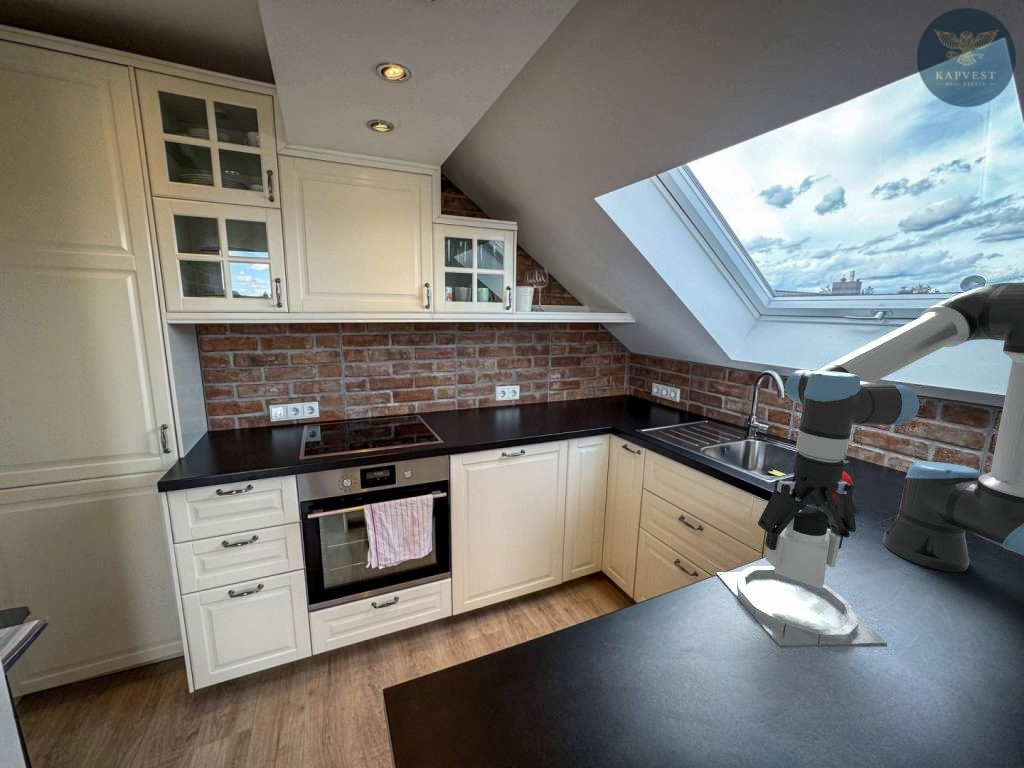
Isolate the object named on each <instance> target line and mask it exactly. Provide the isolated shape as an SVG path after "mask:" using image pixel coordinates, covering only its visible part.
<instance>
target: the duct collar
mask: <svg viewBox="0 0 1024 768" xmlns="http://www.w3.org/2000/svg"><path fill="white" fill-rule="evenodd" d="M727 572H728V571H727ZM727 572H719V571H718V572H716V576H718V575H720V574H722V575H720V576H718V578H719V579H720V580H721V581H722V582H723V584H724V585H725V586H726V587H727V588H728V589H729V591H730V592H731V593H732V594H733V595H734V597H736V599H737V600H738V601H739V602H740V603H741V605H742V606H743V607H744V608H745V609H746V610H747V611H748V613H749V614H750V615H751V616H752V617H753V618H754V620H755V621H757V623H758V624H759V625H760V627H762V629H763V630H764V631H765V632H766V634H767V635H769V637H770V638H771V639H772V641H774V643H775V644H776V645H777V646H778V647H779V648H792V647H793V648H796V647H797V648H798V647H799V648H800V647H803V648H804V647H834V646H835V647H837V646H838V647H839V646H840V647H841V646H872V645H873V646H874V645H875V646H877V645H878V646H879V645H880V646H881V645H888V642H887V641H886V640H885V639H884V638H883V637H881V635H879V634H878V633H877V632H875V631H874V630H873V629H872V628H871V627H870V626H868V625H867V624H866V623H865V622H864V621H863V620H861V619H860V618H859V617H858V616H857V615H856V613H855V610H854V607H853V605H852V604H851V603H850V602H849V601H847V600H846V599H845V598H843V597H842V596H841V595H840V594H838V593H837V592H836V591H835V590H834V589H833V588H832V587H830V586H828V585H826V584H824V585H823V588H818V587H815V586H812V585H809V584H806V583H803V582H800V581H797V580H794V579H791V578H788V577H785V576H782V575H779V574H776V573H775V572H774V566H772V565H770V566H769V565H768V566H767V565H766V566H764V565H763V566H757V565H754V566H749V567H747V568H745V569H744V570H742V571H741V572H740V571H739V572H738V571H737V572H735V571H734V572H731V571H730V572H728V573H727ZM723 573H724V574H723Z"/></svg>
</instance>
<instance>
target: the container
mask: <svg viewBox="0 0 1024 768" xmlns="http://www.w3.org/2000/svg"><path fill="white" fill-rule="evenodd" d="M828 519H829V518H828V516H827V515H826V514H825V513H824V512H823V510H821V509H819V508H817V507H814V506H811V505H807V506H806V507H805V508H804V509H800V511H799V512H798V513H797V514H796V516H795V517H794V518H793V519H792V520H791V522H790V523H789V524H788V525H787V527H786V528H785V529H784V530H783V531H782V533H781V534H782V535H783V536H784V541H783V547H782V553H781V559H780V564H779V568H775V567H774V566H773V567H774V572H775V573H776V574H779V575H782V576H785V577H788V578H791V579H794V580H797V581H800V582H803V583H806V584H809V585H812V586H815V587H818V588H823V585H825V583H824V582H825V577H826V571H827V570H826V569H827V557H828V549H829V542H830V534H828V533H827V529H828V526H829V523H828Z"/></svg>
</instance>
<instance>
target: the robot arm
mask: <svg viewBox="0 0 1024 768" xmlns="http://www.w3.org/2000/svg"><path fill="white" fill-rule="evenodd" d="M976 340H977V341H979V340H993V341H1002V342H1003V349H1002V352H1003V353H1004V354H1005V355H1006V356H1007V357H1008V358H1010V359H1011V361H1012V362H1011V366H1010V372H1009V377H1008V383H1007V387H1006V390H1005V391H1006V392H1005V398H1004V401H1003V407H1002V412H1001V417H1000V421H999V428H998V432H997V438H996V443H995V448H994V451H993V453H994V454H993V458H992V463H991V469H990V472H988V473H987V472H986V473H985V474H982V475H981V472H980V470H978V469H976V468H973V467H970V466H965V465H960V464H955V463H954V464H953V463H950V462H949V463H947V462H939V461H929V460H928V461H926V460H925V461H922V460H921V461H916V462H912V463H911V464H910V466H909V467H908V470H907V473H906V476H905V480H904V486H903V490H902V496H901V500H900V503H899V504H900V505H899V509H898V510H899V511H898V512H897V513H898V514H897V516H896V517H895V519H894V520H893V521H892V523H891V524H890V525H889V526H888V527H887V529H885V531H884V533H883V538H882V544H883V545H884V546H885V547H886V548H887V549H888V550H890V552H892V553H894V554H895V555H897V556H899V557H901V558H903V559H905V560H906V561H909V562H912V563H914V564H917V565H920V566H923V567H926V568H929V569H934V570H938V571H943V572H947V573H948V572H951V573H962V572H965V571H967V570H968V568H969V565H970V559H971V558H970V556H969V551H968V545H967V540H966V532H969V533H971V534H973V535H975V536H977V537H980V538H982V539H984V540H986V541H989V542H990V543H993V544H994V545H995V544H996V545H997V546H1000V547H1003V548H1004V549H1005V550H1007V551H1010V552H1011V551H1012V552H1014V553H1017V554H1019V555H1022V556H1024V282H999V283H994V284H993V283H992V284H987V285H984V286H983V285H982V286H980V287H976V288H973V289H970V290H967V291H965V292H962V293H959V294H956V295H954V296H951V297H949V298H946V299H944V300H941V301H940V302H938V303H935V304H934V305H933V304H932V305H931V306H929V307H928V308H925V309H924V310H923V311H921V313H920V314H919V316H918V318H917V319H915V320H913V321H911V322H909V323H906V324H905V325H903V326H901V327H900V328H899V327H898V328H897V329H896V330H893V331H891V332H889V333H888V334H885V335H883V336H882V337H879V338H878V339H876V340H874V341H872V342H869V343H868V344H866V345H864V346H862V347H860V348H858V349H856V350H854V351H852V352H851V353H848V354H846V355H844V356H842V357H840V358H839V359H836V360H834V361H832V362H830V363H829V364H826V365H824V366H822V367H821V368H819V369H816V370H811V369H799V370H795V371H794V372H792V373H791V374H790V375H789V376H788V378H787V380H786V382H785V385H784V389H785V390H784V391H785V394H786V396H787V397H788V398H789V399H790V400H791V401H792V402H795V403H798V404H799V405H802V410H801V416H800V424H799V429H798V433H797V438H796V439H797V440H796V445H795V448H796V450H797V451H795V453H794V456H793V463H792V472H793V477H792V478H791V479H790V481H783V480H781V479H776V480H775V482H774V487H773V492H772V493H771V496H770V498H769V500H768V502H767V504H766V505H765V508H764V509H763V512H762V513H761V516H760V518H759V520H758V522H757V526H759V528H761V529H762V530H763V531H765V532H766V536H765V546H766V547H767V550H766V557H765V560H766V561H767V562H768V563H769V564H770V566H773V567H775V568H779V564H780V559H781V553H782V547H783V541H784V536H783V535H782V534H781V533H782V531H783V530H784V529H785V528H786V527H787V525H788V524H789V523H790V522H791V520H792V519H793V518H794V517H795V516H796V514H797V513H798V512H799V511H800V509H804V508H805V507H806V506H811V505H815V504H816V505H820V507H821V509H822V510H821V511H822V512H824V513H825V514H826V515H827V516H828V518H829V519H828V526H829V528H827V533H828V534H830V542H829V549H828V557H827V564H826V566H828V567H830V568H836V562H837V560H838V559H837V558H838V553H839V550H841V548H842V545H843V541H844V540H843V539H844V538H846V539H847V538H849V537H850V536H851V533H855V532H856V531H857V526H856V519H855V511H854V503H853V494H854V491H853V489H854V490H855V485H854V486H853V485H851V484H849V483H847V482H845V481H843V480H841V479H842V475H843V471H844V470H845V461H844V460H845V459H847V455H848V448H849V443H850V438H851V433H852V428H853V426H862V425H863V426H886V427H887V426H892V425H895V426H896V425H902V424H906V423H908V422H911V421H912V420H914V418H915V417H916V416H917V414H918V413H919V409H920V401H919V398H918V396H917V393H916V392H915V391H914V390H913V389H912V388H910V387H908V386H906V385H902V384H895V383H891V382H890V383H889V382H887V383H879V382H878V381H880V380H881V379H884V378H886V377H887V376H889V375H892V374H894V373H896V372H897V371H900V370H901V369H903V368H905V367H907V366H909V365H911V364H913V363H915V362H917V361H918V360H921V359H923V358H925V357H927V356H928V355H931V354H933V353H935V352H937V351H939V350H941V349H942V348H944V347H945V348H953V347H957V346H959V345H961V344H964V343H966V342H969V341H976ZM876 382H877V383H876ZM834 493H835V495H836V502H835V500H834V498H833V494H834ZM797 499H798V500H797ZM836 503H837V504H836Z"/></svg>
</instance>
